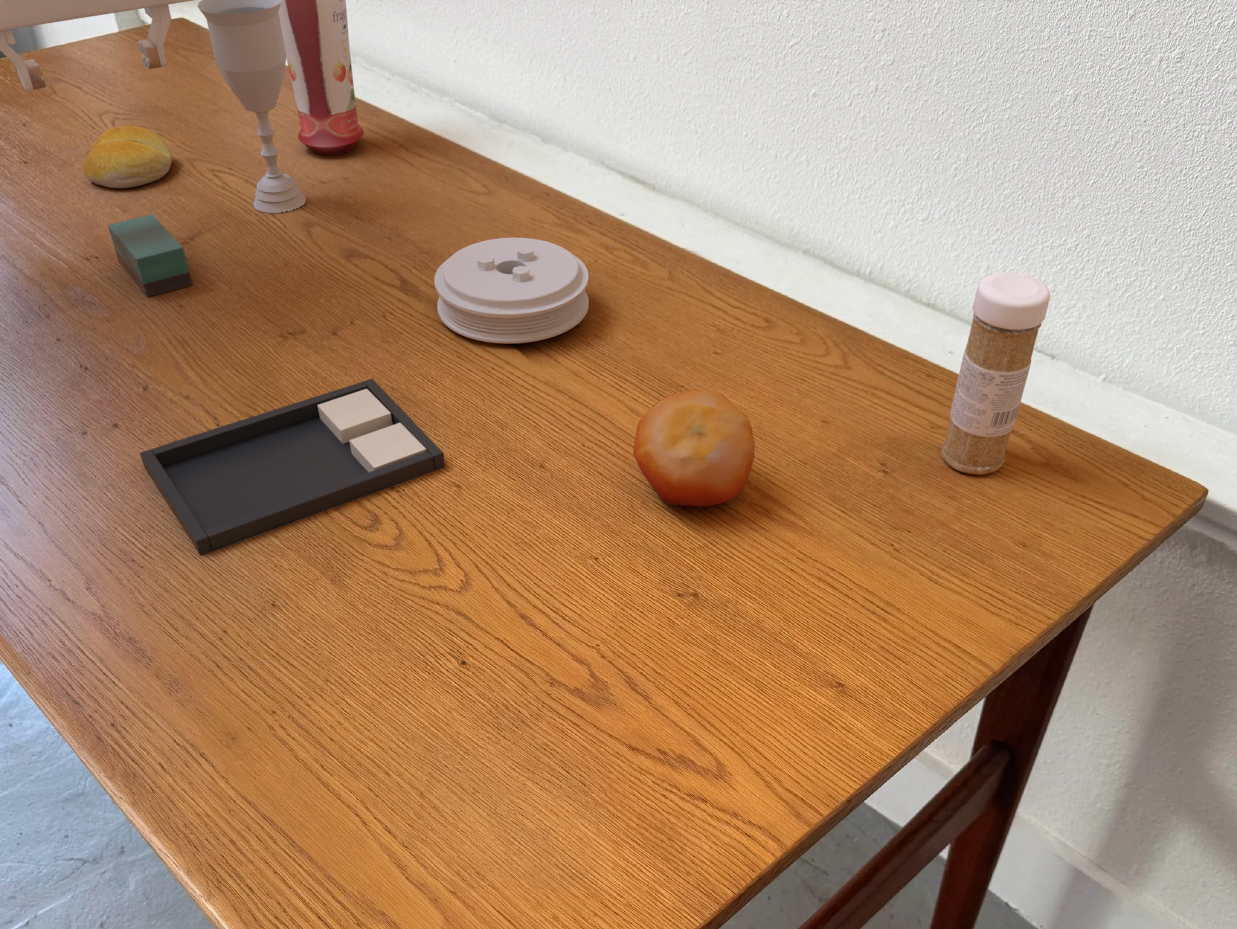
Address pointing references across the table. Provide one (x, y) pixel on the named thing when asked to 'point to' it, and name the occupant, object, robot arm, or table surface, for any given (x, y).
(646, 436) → the fruit
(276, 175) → the chalice
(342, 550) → the table surface
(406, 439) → the chip
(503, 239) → the lid
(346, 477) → the tray
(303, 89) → the red and white bottle
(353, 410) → the chip
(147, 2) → the robot arm
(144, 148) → the bread roll
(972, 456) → the sprinkles bottle
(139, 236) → the eraser
